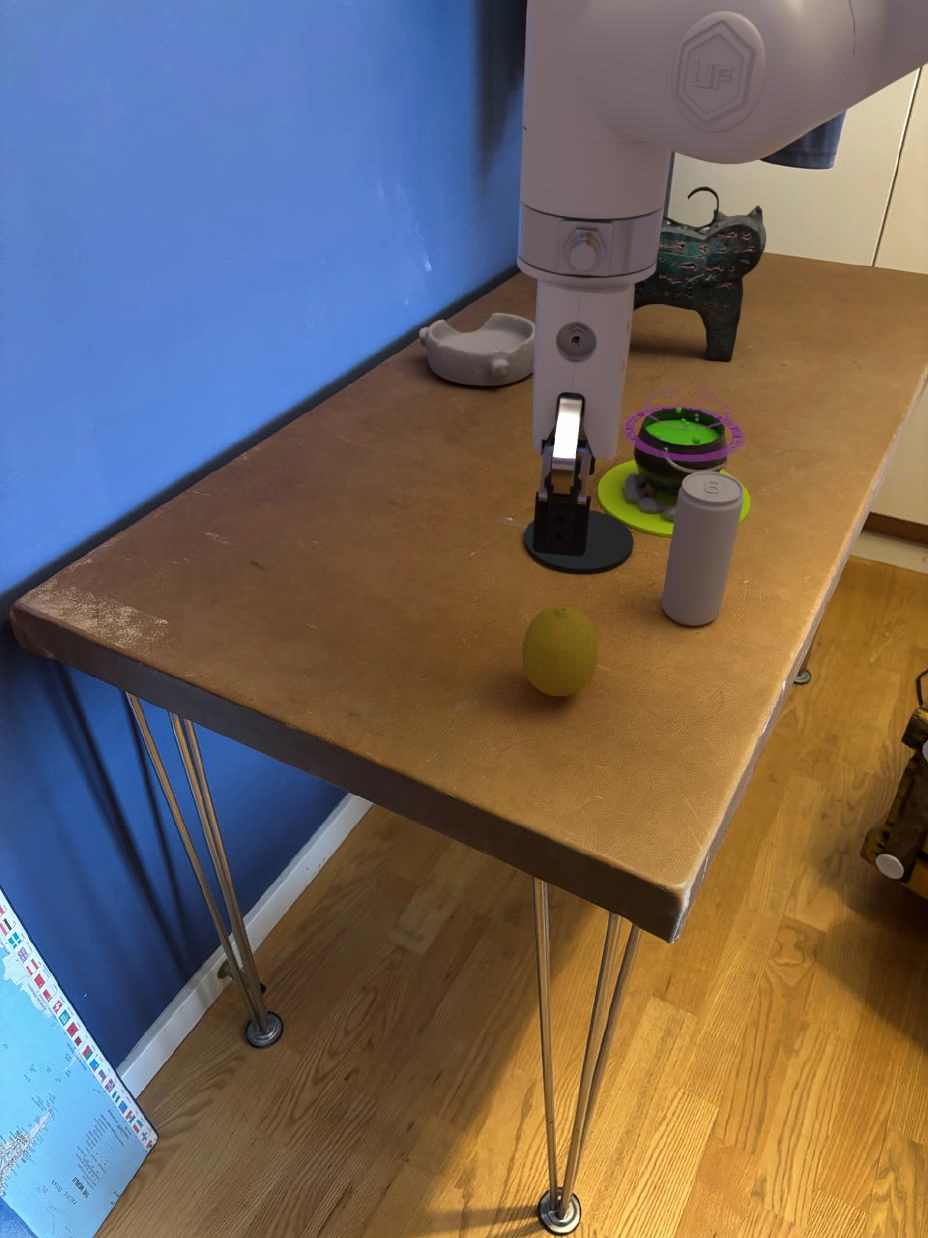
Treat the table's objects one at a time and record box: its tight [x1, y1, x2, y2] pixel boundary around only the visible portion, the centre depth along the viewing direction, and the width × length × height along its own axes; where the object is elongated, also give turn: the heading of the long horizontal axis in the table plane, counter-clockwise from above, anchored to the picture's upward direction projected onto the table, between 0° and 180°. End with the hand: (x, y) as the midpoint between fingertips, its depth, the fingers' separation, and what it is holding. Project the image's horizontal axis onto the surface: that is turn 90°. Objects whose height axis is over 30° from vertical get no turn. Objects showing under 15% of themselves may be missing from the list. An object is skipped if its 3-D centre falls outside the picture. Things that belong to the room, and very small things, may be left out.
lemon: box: [521, 605, 599, 697], centre depth 66 cm, size 6×6×8 cm
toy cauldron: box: [596, 382, 751, 538], centre depth 87 cm, size 15×15×11 cm
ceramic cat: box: [633, 186, 767, 362], centre depth 112 cm, size 20×6×20 cm, turn 76°
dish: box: [418, 312, 535, 387], centre depth 113 cm, size 14×14×5 cm
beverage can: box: [661, 471, 744, 627], centre depth 72 cm, size 5×5×12 cm
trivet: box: [523, 509, 634, 575], centre depth 84 cm, size 10×10×1 cm
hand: (565, 509), depth 59 cm, fingers open, 9 cm apart
